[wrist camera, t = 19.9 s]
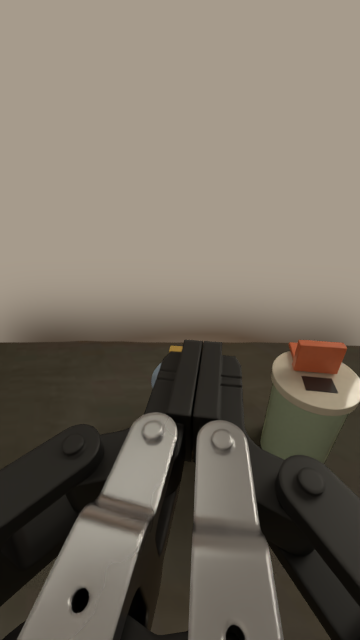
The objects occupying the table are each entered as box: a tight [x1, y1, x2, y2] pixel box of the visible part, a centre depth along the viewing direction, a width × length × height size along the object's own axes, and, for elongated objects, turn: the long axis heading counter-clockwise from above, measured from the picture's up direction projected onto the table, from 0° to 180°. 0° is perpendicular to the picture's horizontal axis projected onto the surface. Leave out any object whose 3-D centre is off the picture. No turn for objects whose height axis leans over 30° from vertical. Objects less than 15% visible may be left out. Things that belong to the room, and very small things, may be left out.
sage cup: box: [260, 351, 360, 464], centre depth 31 cm, size 9×9×13 cm
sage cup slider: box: [289, 340, 347, 374], centre depth 28 cm, size 4×5×4 cm
